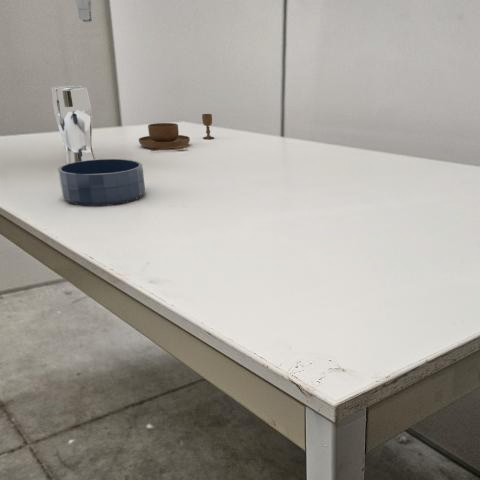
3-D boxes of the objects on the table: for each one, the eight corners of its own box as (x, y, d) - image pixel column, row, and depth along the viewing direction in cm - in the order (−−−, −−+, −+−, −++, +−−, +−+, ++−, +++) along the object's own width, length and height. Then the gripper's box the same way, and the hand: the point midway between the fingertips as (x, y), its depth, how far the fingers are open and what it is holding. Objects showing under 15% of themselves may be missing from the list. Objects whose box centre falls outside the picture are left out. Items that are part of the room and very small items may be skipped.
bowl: (56, 208, 96) (50, 176, 94) (70, 189, 107) (65, 160, 105) (142, 204, 98) (139, 173, 96) (147, 186, 110) (144, 157, 108)
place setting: (133, 141, 153) (130, 116, 151) (211, 137, 161) (210, 113, 159) (146, 153, 139) (143, 126, 137) (231, 147, 147) (230, 121, 144)
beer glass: (56, 167, 124) (42, 88, 118) (74, 160, 131) (62, 85, 124) (88, 168, 123) (76, 88, 117) (105, 162, 130) (94, 85, 123)
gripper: (62, -56, 120) (72, 22, 125) (51, -76, 102) (63, 17, 108) (96, -54, 122) (105, 23, 127) (91, -73, 104) (101, 19, 109)
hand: (86, 21), depth 117 cm, fingers open, 8 cm apart
